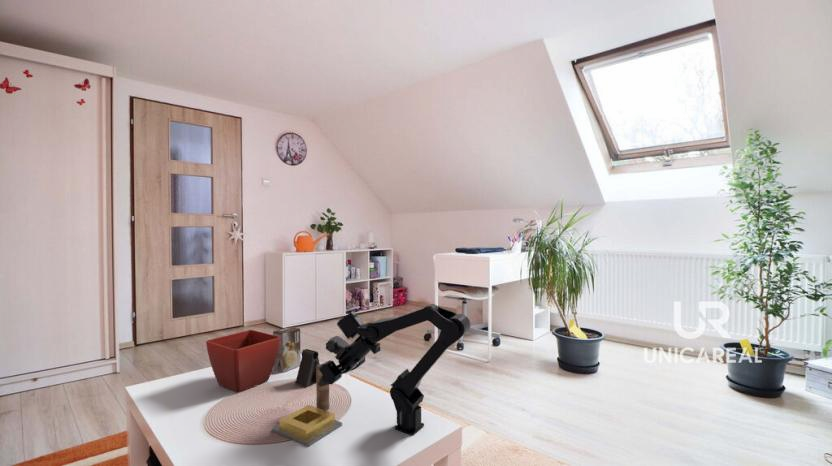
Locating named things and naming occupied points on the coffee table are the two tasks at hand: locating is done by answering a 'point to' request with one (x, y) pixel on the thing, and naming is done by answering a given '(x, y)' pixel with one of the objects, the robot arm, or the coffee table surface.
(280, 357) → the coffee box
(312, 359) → the phone stand
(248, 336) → the plant pot
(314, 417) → the socket
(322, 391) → the pin
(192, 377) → the coffee table surface
